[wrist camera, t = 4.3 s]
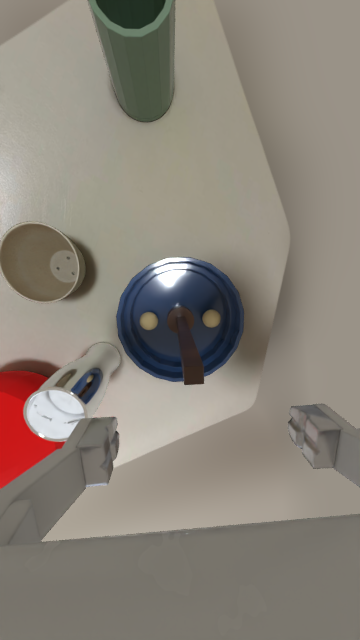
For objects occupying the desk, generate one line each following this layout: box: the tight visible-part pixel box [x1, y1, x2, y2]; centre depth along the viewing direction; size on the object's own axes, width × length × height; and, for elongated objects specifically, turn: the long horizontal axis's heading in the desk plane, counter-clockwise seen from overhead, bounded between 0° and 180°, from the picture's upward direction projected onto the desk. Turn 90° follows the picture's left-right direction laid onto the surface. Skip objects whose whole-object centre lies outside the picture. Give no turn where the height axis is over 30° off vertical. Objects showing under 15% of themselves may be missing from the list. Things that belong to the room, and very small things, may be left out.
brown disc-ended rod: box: [167, 305, 204, 385], centre depth 23 cm, size 4×4×20 cm
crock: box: [87, 0, 175, 122], centre depth 22 cm, size 8×8×10 cm
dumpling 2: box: [202, 310, 221, 328], centre depth 32 cm, size 3×3×3 cm
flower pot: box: [0, 221, 86, 303], centre depth 28 cm, size 10×10×7 cm
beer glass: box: [23, 342, 121, 442], centre depth 27 cm, size 7×7×15 cm
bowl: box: [116, 257, 244, 382], centre depth 31 cm, size 19×19×5 cm
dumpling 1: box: [140, 312, 158, 330], centre depth 32 cm, size 3×3×3 cm
